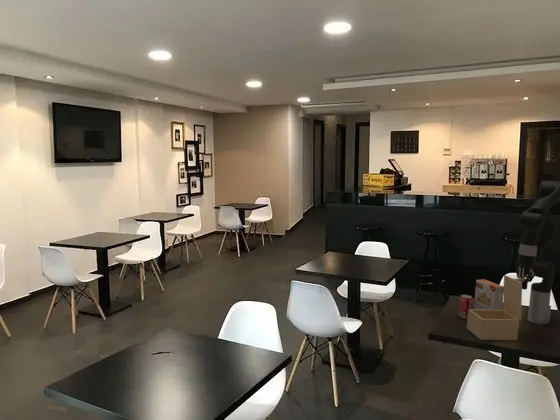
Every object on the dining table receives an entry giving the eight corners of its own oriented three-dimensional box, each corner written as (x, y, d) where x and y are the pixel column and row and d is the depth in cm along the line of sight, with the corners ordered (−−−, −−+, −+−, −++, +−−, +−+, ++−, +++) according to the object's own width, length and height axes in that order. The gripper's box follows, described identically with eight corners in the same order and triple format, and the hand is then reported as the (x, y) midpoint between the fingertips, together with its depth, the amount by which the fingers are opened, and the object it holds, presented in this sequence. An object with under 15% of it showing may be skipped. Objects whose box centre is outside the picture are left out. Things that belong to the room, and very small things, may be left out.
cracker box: (472, 316, 240) (475, 279, 238) (481, 315, 242) (484, 278, 240) (491, 326, 227) (495, 286, 225) (501, 325, 229) (504, 286, 226)
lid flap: (503, 309, 223) (514, 309, 223) (519, 320, 209) (531, 319, 209) (504, 275, 220) (515, 274, 221) (520, 283, 207) (532, 282, 207)
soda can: (470, 316, 241) (472, 295, 239) (472, 320, 234) (474, 299, 232) (456, 314, 243) (458, 293, 241) (458, 319, 236) (460, 297, 234)
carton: (501, 328, 224) (503, 309, 223) (517, 340, 210) (519, 320, 209) (466, 328, 223) (468, 309, 222) (480, 339, 209) (482, 319, 208)
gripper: (543, 257, 206) (539, 293, 208) (526, 251, 219) (522, 285, 221) (528, 256, 205) (523, 292, 207) (511, 250, 219) (507, 284, 221)
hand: (522, 288), depth 214 cm, fingers closed
